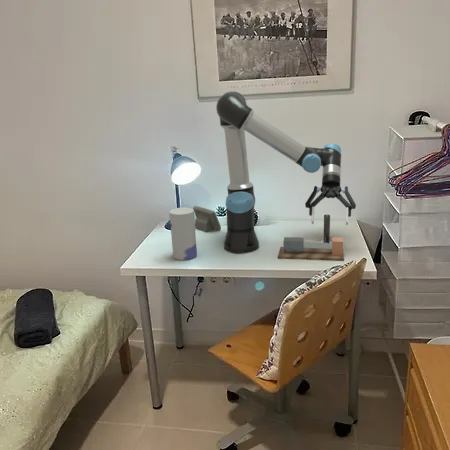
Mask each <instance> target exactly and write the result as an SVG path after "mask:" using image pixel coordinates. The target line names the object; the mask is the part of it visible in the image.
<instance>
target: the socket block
mask: <svg viewBox="0 0 450 450" xmlns="http://www.w3.org/2000/svg"><path fill="white" fill-rule="evenodd" d="M331 241H332V255H340V256H343V254H344V237H335V236H334V237H332V240H331Z"/></svg>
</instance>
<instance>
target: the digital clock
mask: <svg viewBox="0 0 450 450" xmlns="http://www.w3.org/2000/svg"><path fill="white" fill-rule="evenodd" d="M192 209H194V216H195V217H196V218H194V219H195V230H196V229H197V230H198V231H202V232H204V233H209V232H212V231H218V232H219V231H220V232H221V231H222V226H221V223H220V221H219V219H218V215H217V212H216V211H215V210H212V209H209V208H206V207H202V206H199V205H195V206H193V208H192Z"/></svg>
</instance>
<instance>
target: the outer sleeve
mask: <svg viewBox="0 0 450 450" xmlns="http://www.w3.org/2000/svg"><path fill="white" fill-rule="evenodd" d="M304 240H305V237H298V236H297V237H291V236H290V237H289V236H287V237H286V236H285V237H283V246H282V247H284V250H286V253H294V254H301V251H303V249H304V248H303V241H304Z"/></svg>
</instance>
